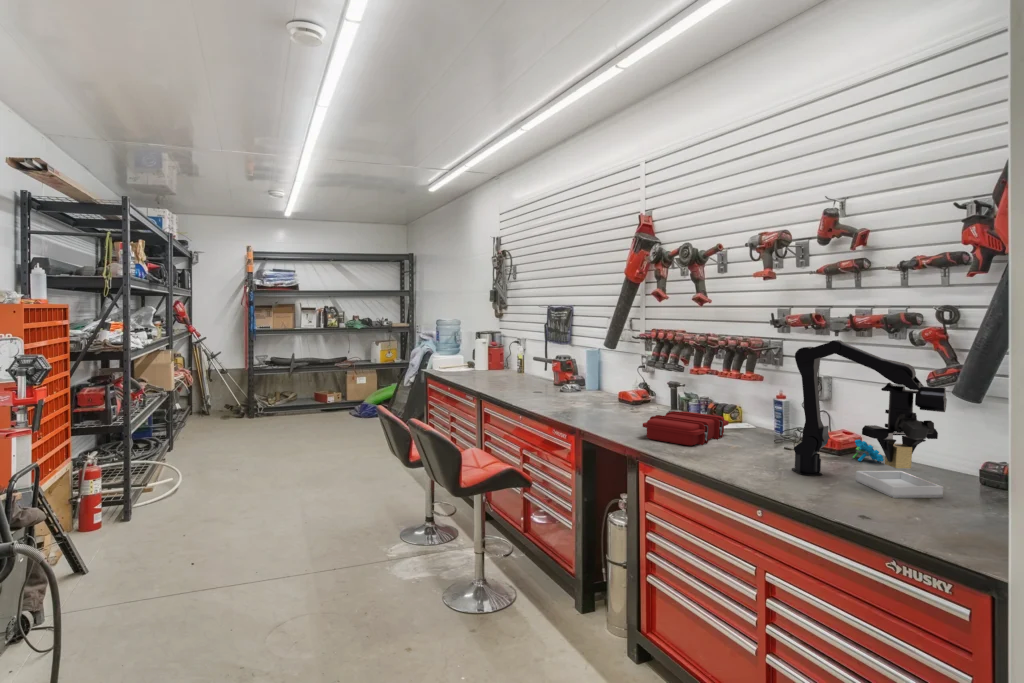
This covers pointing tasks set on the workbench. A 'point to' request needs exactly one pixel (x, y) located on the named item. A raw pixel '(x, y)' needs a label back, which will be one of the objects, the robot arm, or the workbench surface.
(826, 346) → the robot arm
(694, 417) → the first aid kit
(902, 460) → the brass block
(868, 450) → the blue plastic figure
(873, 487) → the parts tray
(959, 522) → the workbench surface
